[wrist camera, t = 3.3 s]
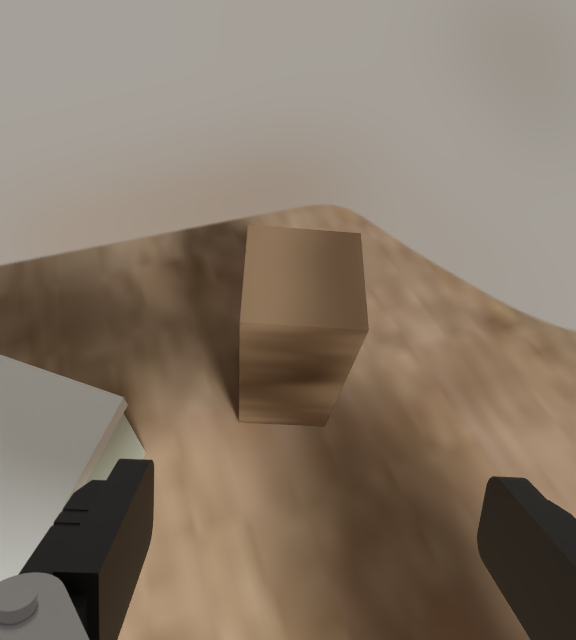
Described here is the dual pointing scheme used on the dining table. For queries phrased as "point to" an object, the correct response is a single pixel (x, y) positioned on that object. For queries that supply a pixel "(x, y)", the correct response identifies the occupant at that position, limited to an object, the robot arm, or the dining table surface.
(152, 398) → the dining table surface
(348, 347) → the walnut block
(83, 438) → the storage box
